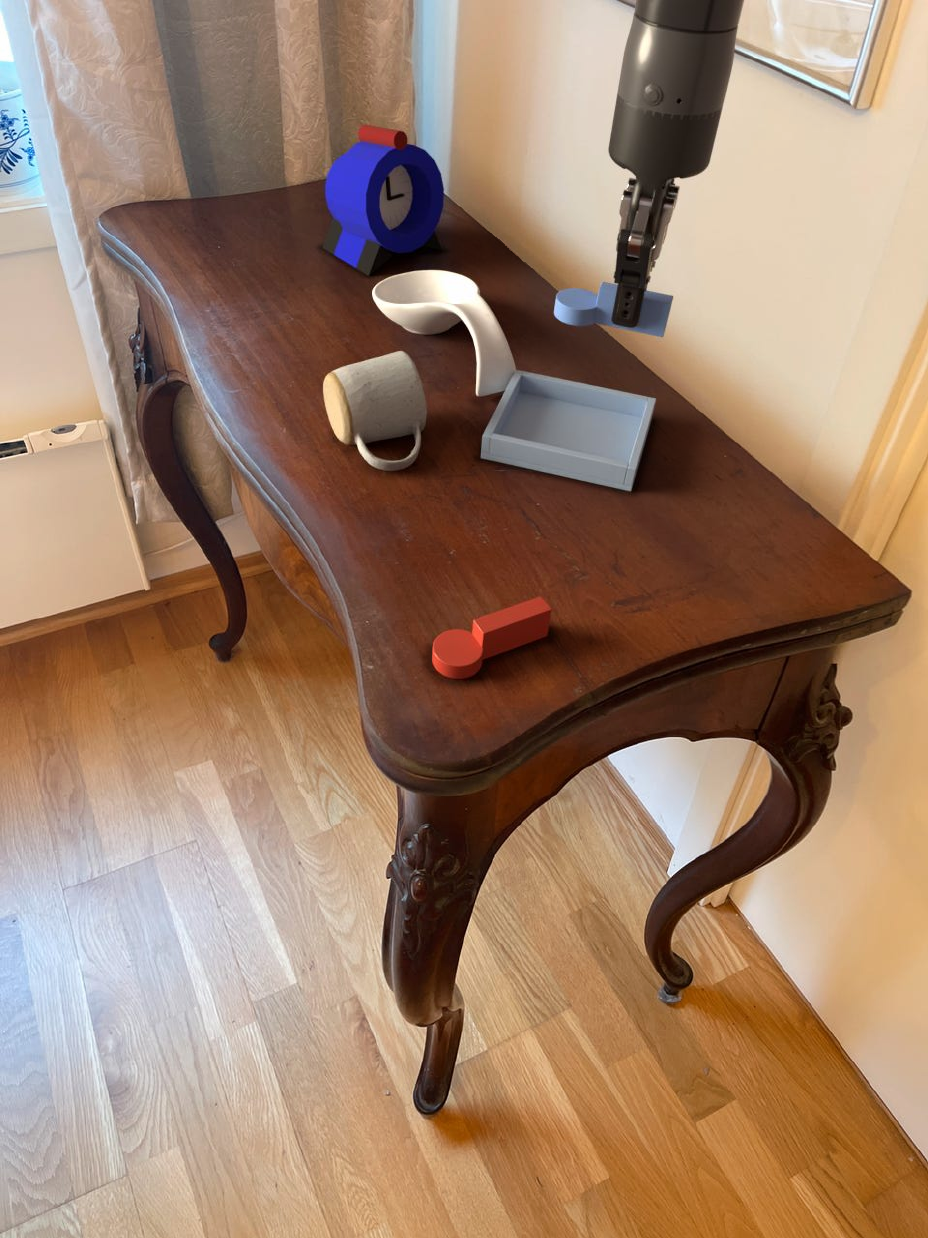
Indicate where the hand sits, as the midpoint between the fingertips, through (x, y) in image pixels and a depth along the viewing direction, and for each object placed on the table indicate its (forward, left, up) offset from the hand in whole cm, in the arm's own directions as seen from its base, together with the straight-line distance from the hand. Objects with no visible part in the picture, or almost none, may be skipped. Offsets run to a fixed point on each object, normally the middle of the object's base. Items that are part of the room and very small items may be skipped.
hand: (626, 318), depth 79 cm
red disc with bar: (+4, +26, -15) cm, 31 cm away
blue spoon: (+2, 0, -1) cm, 2 cm away
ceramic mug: (+21, +3, -16) cm, 26 cm away
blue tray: (+4, -4, -15) cm, 16 cm away
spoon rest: (+20, -17, -16) cm, 30 cm away
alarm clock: (+36, -37, -16) cm, 53 cm away
